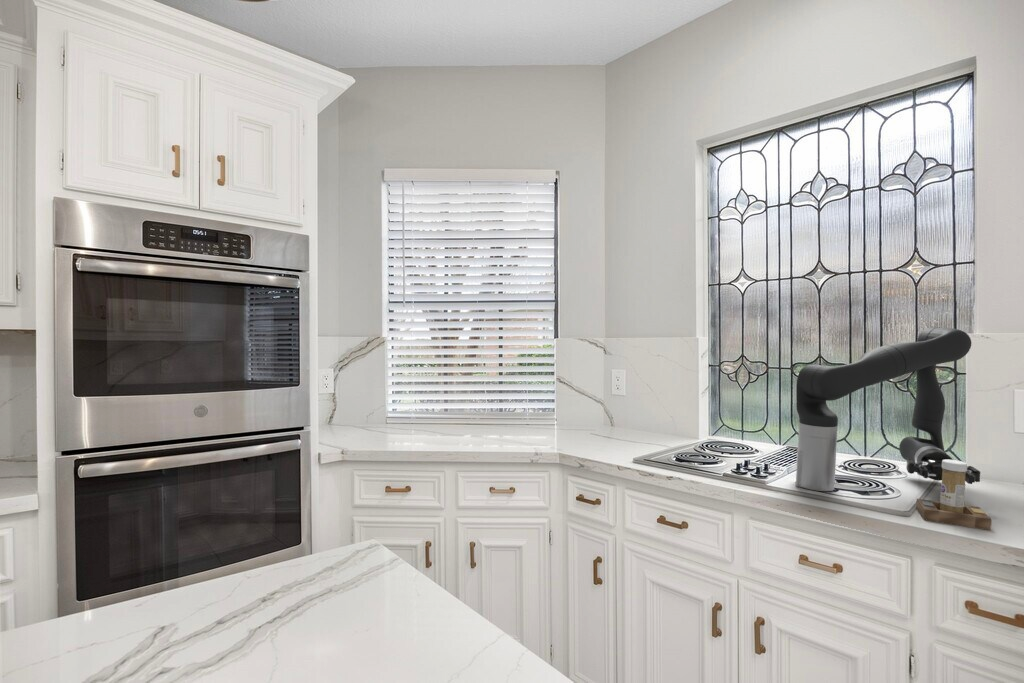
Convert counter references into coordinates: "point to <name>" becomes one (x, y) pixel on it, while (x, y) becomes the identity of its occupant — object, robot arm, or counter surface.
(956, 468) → the sprinkles bottle
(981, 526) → the socket block
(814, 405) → the robot arm
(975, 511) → the brass tag
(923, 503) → the slate tag
